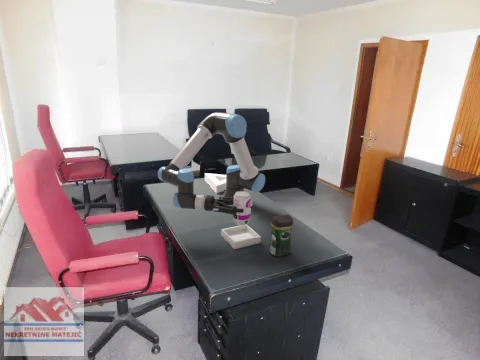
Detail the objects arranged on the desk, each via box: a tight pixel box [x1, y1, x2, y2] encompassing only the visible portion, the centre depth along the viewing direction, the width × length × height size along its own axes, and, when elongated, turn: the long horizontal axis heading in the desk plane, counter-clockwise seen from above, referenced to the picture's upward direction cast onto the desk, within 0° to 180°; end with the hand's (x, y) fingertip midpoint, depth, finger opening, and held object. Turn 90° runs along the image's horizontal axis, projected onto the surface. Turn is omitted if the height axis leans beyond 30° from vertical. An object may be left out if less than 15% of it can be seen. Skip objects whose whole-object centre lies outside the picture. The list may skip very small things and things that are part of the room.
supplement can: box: [232, 190, 252, 226], centre depth 149 cm, size 8×8×15 cm
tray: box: [220, 224, 262, 250], centre depth 154 cm, size 15×15×4 cm
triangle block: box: [204, 172, 226, 195], centre depth 224 cm, size 30×26×6 cm
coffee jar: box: [268, 213, 294, 257], centre depth 141 cm, size 10×8×19 cm
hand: (251, 207), depth 148 cm, fingers closed on supplement can, 8 cm apart
